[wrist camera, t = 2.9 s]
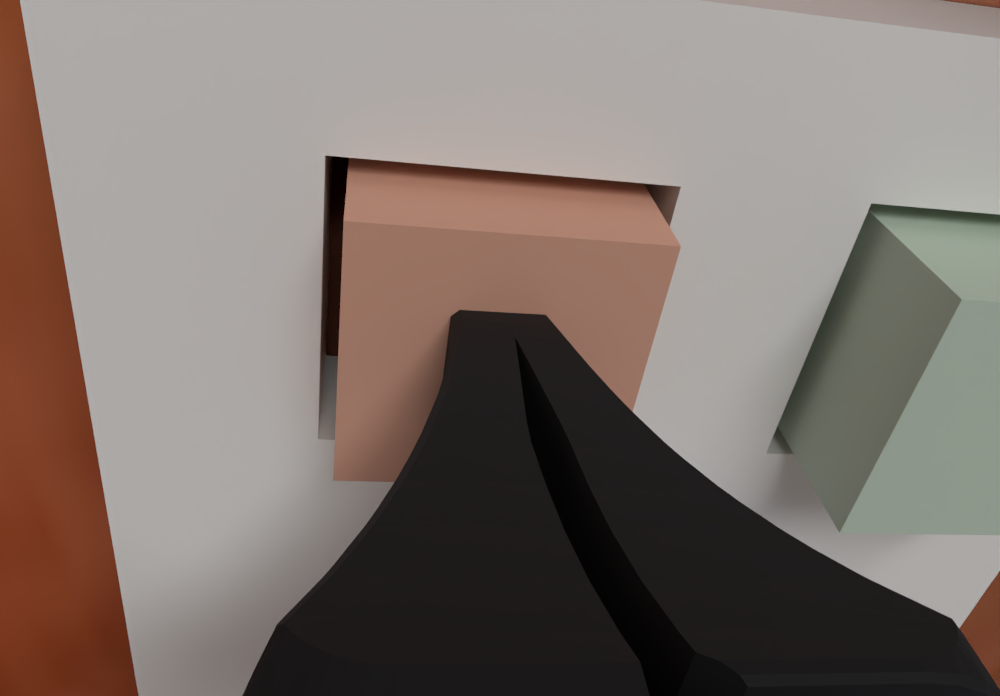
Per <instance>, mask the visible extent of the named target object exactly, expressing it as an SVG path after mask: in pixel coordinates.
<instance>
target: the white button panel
mask: <svg viewBox="0 0 1000 696" xmlns="http://www.w3.org/2000/svg"><path fill="white" fill-rule="evenodd" d="M20 4H21V10H22V15H23V21H24V27H25V33H26V39H27V45H28V51H29V56H30V62H31V68H32V74H33V80H34V86H35V92H36V97H37V103H38V109H39V115H40V121H41V127H42V133H43V139H44V144H45V150H46V156H47V162H48V168H49V174H50V180H51V185H52V191H53V197H54V203H55V209H56V215H57V221H58V226H59V232H60V238H61V244H62V250H63V256H64V262H65V268H66V273H67V279H68V285H69V291H70V297H71V303H72V309H73V314H74V320H75V326H76V332H77V338H78V344H79V350H80V355H81V361H82V367H83V373H84V379H85V385H86V391H87V397H88V402H89V408H90V414H91V420H92V426H93V432H94V438H95V443H96V449H97V455H98V461H99V467H100V473H101V479H102V484H103V490H104V496H105V502H106V508H107V514H108V520H109V525H110V531H111V537H112V543H113V549H114V555H115V561H116V567H117V572H118V578H119V584H120V590H121V596H122V602H123V608H124V613H125V619H126V625H127V631H128V637H129V643H130V649H131V654H132V660H133V666H134V672H135V678H136V684H137V690H138V696H243V693H244V691H245V689H246V687H247V685H248V682H249V680H250V678H251V676H252V674H253V672H254V669H255V667H256V665H257V663H258V661H259V659H260V657H261V655H262V653H263V651H264V649H265V647H266V645H267V643H268V641H269V639H270V637H271V635H272V633H273V631H274V630H275V627H276V625H277V624H278V623H279V622H280V621H281V620H282V619H283V617H284V616H285V615H286V614H287V613H288V612H289V611H290V610H291V609H292V608H293V607H294V606H295V605H296V604H297V603H298V602H299V601H300V600H301V599H302V598H303V597H304V596H305V595H306V594H307V593H308V592H309V591H310V590H311V589H312V588H313V587H314V586H315V585H316V584H317V583H318V582H319V581H320V580H321V579H322V577H323V576H324V575H325V574H326V573H327V572H328V571H329V570H330V568H331V567H332V566H333V565H334V564H335V562H336V561H337V560H338V559H339V557H340V556H341V555H342V554H343V552H344V551H345V550H346V549H347V547H348V546H349V545H350V544H351V543H352V541H353V540H354V539H355V538H356V536H357V535H358V534H359V533H360V531H361V530H362V529H363V528H364V526H365V525H366V524H367V522H368V521H369V520H370V518H371V517H372V515H373V514H374V512H375V511H376V510H377V508H378V507H379V505H380V504H381V502H382V501H383V499H384V498H385V496H386V494H387V493H388V491H389V490H390V488H391V487H392V485H393V484H394V482H369V481H333V474H334V449H335V424H336V398H337V373H338V356H328V355H326V341H327V307H328V273H329V240H330V206H331V172H332V156H336V157H348V158H359V159H371V160H382V161H393V162H405V163H416V164H428V165H439V166H450V167H462V168H473V169H485V170H496V171H508V172H519V173H530V174H542V175H553V176H565V177H576V178H587V179H599V180H610V181H622V182H633V183H644V185H645V187H646V188H647V190H648V192H649V193H650V195H651V197H652V198H653V200H654V202H655V203H656V205H657V207H658V208H659V210H660V212H661V213H662V215H663V217H664V219H665V220H666V222H667V224H668V225H669V227H670V229H671V230H672V232H673V234H674V235H675V237H676V239H677V240H678V242H679V244H680V245H681V248H680V252H679V255H678V259H677V262H676V265H675V269H674V272H673V276H672V279H671V282H670V286H669V289H668V293H667V296H666V299H665V303H664V306H663V310H662V313H661V317H660V320H659V323H658V327H657V330H656V334H655V337H654V340H653V344H652V347H651V351H650V354H649V357H648V361H647V364H646V368H645V371H644V375H643V378H642V381H641V385H640V388H639V392H638V395H637V398H636V402H635V405H634V409H633V413H634V414H635V415H636V416H637V417H638V418H639V419H640V420H642V421H643V422H644V423H645V424H646V425H647V426H648V427H649V428H650V429H651V430H652V431H653V432H654V433H655V434H656V435H657V436H659V437H660V438H661V439H662V440H663V441H664V442H665V443H666V444H667V445H668V446H669V447H671V448H672V449H673V450H674V451H675V452H676V453H678V454H679V455H680V456H681V457H682V458H683V459H685V460H686V461H687V462H689V463H690V464H691V465H692V466H694V467H695V468H696V469H697V470H699V471H700V472H701V473H702V474H704V475H705V476H706V477H707V478H709V479H710V480H711V481H712V482H714V483H715V484H716V485H717V486H719V487H720V488H721V489H723V490H724V491H726V492H727V493H728V494H730V495H731V496H733V497H734V498H735V499H737V500H738V501H739V502H741V503H742V504H744V505H745V506H747V507H748V508H750V509H751V510H753V511H754V512H756V513H757V514H759V515H760V516H762V517H763V518H765V519H766V520H768V521H769V522H771V523H772V524H774V525H775V526H777V527H778V528H780V529H782V530H783V531H785V532H786V533H788V534H790V535H791V536H793V537H795V538H796V539H798V540H800V541H801V542H803V543H805V544H806V545H808V546H810V547H811V548H813V549H815V550H817V551H818V552H820V553H822V554H824V555H826V556H827V557H829V558H831V559H833V560H835V561H836V562H838V563H840V564H842V565H844V566H845V567H847V568H849V569H851V570H853V571H854V572H856V573H858V574H860V575H862V576H864V577H866V578H868V579H870V580H872V581H874V582H876V583H878V584H880V585H882V586H884V587H886V588H889V589H891V590H893V591H895V592H897V593H899V594H901V595H903V596H905V597H907V598H910V599H912V600H914V601H916V602H918V603H920V604H922V605H924V606H926V607H929V608H931V609H933V610H935V611H937V612H939V613H941V614H943V615H945V616H947V617H950V618H952V619H953V621H954V622H955V623H956V625H957V626H958V628H960V627H961V625H962V624H963V622H964V621H965V619H966V618H967V617H968V615H969V614H970V612H971V611H972V609H973V608H974V607H975V605H976V604H977V602H978V601H979V599H980V598H981V597H982V595H983V594H984V592H985V591H986V589H987V588H988V587H989V585H990V584H991V582H992V581H993V580H994V578H995V577H996V575H997V574H998V572H999V571H1000V535H941V534H871V533H839V531H838V530H837V528H836V526H835V524H834V523H833V521H832V519H831V518H830V516H829V514H828V512H827V511H826V509H825V507H824V505H823V504H822V502H821V500H820V499H819V497H818V495H817V493H816V492H815V490H814V488H813V486H812V485H811V483H810V481H809V480H808V478H807V476H806V474H805V473H804V471H803V469H802V468H801V466H800V464H799V462H798V461H797V459H796V457H795V455H794V454H793V452H792V450H791V449H790V447H789V445H788V443H787V442H786V440H785V438H784V436H783V435H782V433H781V431H780V430H779V428H778V423H779V421H780V419H781V416H782V414H783V412H784V409H785V407H786V405H787V402H788V400H789V397H790V395H791V393H792V390H793V388H794V386H795V383H796V381H797V378H798V376H799V374H800V371H801V369H802V367H803V364H804V362H805V360H806V357H807V355H808V352H809V350H810V348H811V345H812V343H813V341H814V338H815V336H816V333H817V331H818V329H819V326H820V324H821V322H822V319H823V317H824V314H825V312H826V310H827V307H828V305H829V303H830V300H831V298H832V296H833V293H834V291H835V288H836V286H837V284H838V281H839V279H840V277H841V274H842V272H843V269H844V267H845V265H846V262H847V260H848V258H849V255H850V253H851V251H852V248H853V246H854V243H855V241H856V239H857V236H858V234H859V232H860V229H861V227H862V224H863V222H864V220H865V217H866V215H867V213H868V210H869V208H870V205H871V203H873V204H884V205H895V206H907V207H918V208H930V209H941V210H952V211H964V212H975V213H987V214H998V215H1000V8H994V7H986V6H979V5H972V4H964V3H957V2H949V1H942V0H20Z"/></svg>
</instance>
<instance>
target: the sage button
mask: <svg viewBox="0 0 1000 696" xmlns="http://www.w3.org/2000/svg"><path fill="white" fill-rule="evenodd" d="M778 428H779V430H780V431H781V433H782V435H783V436H784V438H785V440H786V442H787V443H788V445H789V447H790V449H791V450H792V452H793V454H794V455H795V457H796V459H797V461H798V462H799V464H800V466H801V468H802V469H803V471H804V473H805V474H806V476H807V478H808V480H809V481H810V483H811V485H812V486H813V488H814V490H815V492H816V493H817V495H818V497H819V499H820V500H821V502H822V504H823V505H824V507H825V509H826V511H827V512H828V514H829V516H830V518H831V519H832V521H833V523H834V524H835V526H836V528H837V530H838V531H839V533H871V534H941V535H1000V215H998V214H987V213H975V212H964V211H952V210H941V209H930V208H918V207H907V206H895V205H884V204H873V203H871V205H870V208H869V210H868V213H867V215H866V217H865V220H864V222H863V224H862V227H861V229H860V232H859V234H858V236H857V239H856V241H855V243H854V246H853V248H852V251H851V253H850V255H849V258H848V260H847V262H846V265H845V267H844V269H843V272H842V274H841V277H840V279H839V281H838V284H837V286H836V288H835V291H834V293H833V296H832V298H831V300H830V303H829V305H828V307H827V310H826V312H825V314H824V317H823V319H822V322H821V324H820V326H819V329H818V331H817V333H816V336H815V338H814V341H813V343H812V345H811V348H810V350H809V352H808V355H807V357H806V360H805V362H804V364H803V367H802V369H801V371H800V374H799V376H798V378H797V381H796V383H795V386H794V388H793V390H792V393H791V395H790V397H789V400H788V402H787V405H786V407H785V409H784V412H783V414H782V416H781V419H780V421H779V423H778Z"/></svg>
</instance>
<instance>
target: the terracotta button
mask: <svg viewBox="0 0 1000 696" xmlns="http://www.w3.org/2000/svg"><path fill="white" fill-rule="evenodd" d="M680 248H681V245H680V244H679V242H678V240H677V239H676V237H675V235H674V234H673V232H672V230H671V229H670V227H669V225H668V224H667V222H666V220H665V219H664V217H663V215H662V213H661V212H660V210H659V208H658V207H657V205H656V203H655V202H654V200H653V198H652V197H651V195H650V193H649V192H648V190H647V188H646V187H645V185H644V183H633V182H622V181H610V180H599V179H587V178H576V177H565V176H553V175H542V174H530V173H519V172H508V171H496V170H485V169H473V168H462V167H450V166H439V165H428V164H416V163H405V162H393V161H382V160H371V159H359V158H349V162H348V174H347V186H346V198H345V209H344V222H343V247H342V272H341V297H340V323H339V348H338V373H337V398H336V424H335V449H334V474H333V481H369V482H395V480H396V479H397V477H398V476H399V474H400V472H401V470H402V469H403V467H404V465H405V463H406V462H407V460H408V458H409V456H410V454H411V452H412V451H413V449H414V447H415V445H416V443H417V441H418V439H419V437H420V435H421V433H422V431H423V428H424V426H425V424H426V421H427V419H428V417H429V414H430V412H431V410H432V407H433V405H434V403H435V400H436V398H437V395H438V392H439V389H440V386H441V383H442V380H443V373H444V365H445V357H446V349H447V341H448V333H449V325H450V317H451V316H452V315H453V314H455V313H456V312H457V311H459V310H472V311H489V312H506V313H524V314H543V315H546V316H547V317H548V318H549V319H550V320H551V321H552V322H553V324H554V325H555V326H556V327H557V328H558V330H559V331H560V332H561V333H562V334H563V335H564V337H565V338H566V339H567V340H568V341H569V343H570V344H571V345H572V346H573V347H574V348H575V350H576V351H577V352H578V353H579V354H580V355H581V357H582V358H583V359H584V360H585V361H586V362H587V364H588V365H589V366H590V367H591V368H592V369H593V370H594V371H595V373H596V374H597V375H598V376H599V377H600V378H601V379H602V380H603V381H604V382H605V384H606V385H607V386H608V387H609V388H610V389H611V390H612V391H613V392H614V393H615V394H616V395H617V396H618V397H619V398H620V400H621V401H622V402H623V403H624V404H625V405H626V406H627V407H628V408H629V409H630V410H631V411H632V412H633V409H634V405H635V402H636V398H637V395H638V392H639V388H640V385H641V381H642V378H643V375H644V371H645V368H646V364H647V361H648V357H649V354H650V351H651V347H652V344H653V340H654V337H655V334H656V330H657V327H658V323H659V320H660V317H661V313H662V310H663V306H664V303H665V299H666V296H667V293H668V289H669V286H670V282H671V279H672V276H673V272H674V269H675V265H676V262H677V259H678V255H679V252H680Z"/></svg>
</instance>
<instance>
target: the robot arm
mask: <svg viewBox="0 0 1000 696" xmlns="http://www.w3.org/2000/svg"><path fill="white" fill-rule="evenodd" d="M243 696H1000V690H999V688H998V687H997V685H996V683H995V682H994V680H993V679H992V677H991V676H990V674H989V673H988V671H987V670H986V668H985V667H984V665H983V664H982V662H981V661H980V659H979V658H978V656H977V655H976V653H975V651H974V650H973V648H972V647H971V645H970V644H969V642H968V641H967V639H966V638H965V636H964V635H963V633H962V632H961V630H960V629H959V628H958V626H957V625H956V623H955V622H954V621H953V619H952V618H950V617H947V616H945V615H943V614H941V613H939V612H937V611H935V610H933V609H931V608H929V607H926V606H924V605H922V604H920V603H918V602H916V601H914V600H912V599H910V598H907V597H905V596H903V595H901V594H899V593H897V592H895V591H893V590H891V589H889V588H886V587H884V586H882V585H880V584H878V583H876V582H874V581H872V580H870V579H868V578H866V577H864V576H862V575H860V574H858V573H856V572H854V571H853V570H851V569H849V568H847V567H845V566H844V565H842V564H840V563H838V562H836V561H835V560H833V559H831V558H829V557H827V556H826V555H824V554H822V553H820V552H818V551H817V550H815V549H813V548H811V547H810V546H808V545H806V544H805V543H803V542H801V541H800V540H798V539H796V538H795V537H793V536H791V535H790V534H788V533H786V532H785V531H783V530H782V529H780V528H778V527H777V526H775V525H774V524H772V523H771V522H769V521H768V520H766V519H765V518H763V517H762V516H760V515H759V514H757V513H756V512H754V511H753V510H751V509H750V508H748V507H747V506H745V505H744V504H742V503H741V502H739V501H738V500H737V499H735V498H734V497H733V496H731V495H730V494H728V493H727V492H726V491H724V490H723V489H721V488H720V487H719V486H717V485H716V484H715V483H714V482H712V481H711V480H710V479H709V478H707V477H706V476H705V475H704V474H702V473H701V472H700V471H699V470H697V469H696V468H695V467H694V466H692V465H691V464H690V463H689V462H687V461H686V460H685V459H683V458H682V457H681V456H680V455H679V454H678V453H676V452H675V451H674V450H673V449H672V448H671V447H669V446H668V445H667V444H666V443H665V442H664V441H663V440H662V439H661V438H660V437H659V436H657V435H656V434H655V433H654V432H653V431H652V430H651V429H650V428H649V427H648V426H647V425H646V424H645V423H644V422H643V421H642V420H640V419H639V418H638V417H637V416H636V415H635V414H634V413H633V412H632V411H631V410H630V409H629V408H628V407H627V406H626V405H625V404H624V403H623V402H622V401H621V400H620V398H619V397H618V396H617V395H616V394H615V393H614V392H613V391H612V390H611V389H610V388H609V387H608V386H607V385H606V384H605V382H604V381H603V380H602V379H601V378H600V377H599V376H598V375H597V374H596V373H595V371H594V370H593V369H592V368H591V367H590V366H589V365H588V364H587V362H586V361H585V360H584V359H583V358H582V357H581V355H580V354H579V353H578V352H577V351H576V350H575V348H574V347H573V346H572V345H571V344H570V343H569V341H568V340H567V339H566V338H565V337H564V335H563V334H562V333H561V332H560V331H559V330H558V328H557V327H556V326H555V325H554V324H553V322H552V321H551V320H550V319H549V318H548V317H547V316H546V315H543V314H524V313H506V312H489V311H472V310H459V311H457V312H456V313H455V314H453V315H452V316H451V317H450V325H449V333H448V341H447V349H446V357H445V365H444V373H443V380H442V383H441V386H440V389H439V392H438V395H437V398H436V400H435V403H434V405H433V407H432V410H431V412H430V414H429V417H428V419H427V421H426V424H425V426H424V428H423V431H422V433H421V435H420V437H419V439H418V441H417V443H416V445H415V447H414V449H413V451H412V452H411V454H410V456H409V458H408V460H407V462H406V463H405V465H404V467H403V469H402V470H401V472H400V474H399V476H398V477H397V479H396V480H395V482H394V484H393V485H392V487H391V488H390V490H389V491H388V493H387V494H386V496H385V498H384V499H383V501H382V502H381V504H380V505H379V507H378V508H377V510H376V511H375V512H374V514H373V515H372V517H371V518H370V520H369V521H368V522H367V524H366V525H365V526H364V528H363V529H362V530H361V531H360V533H359V534H358V535H357V536H356V538H355V539H354V540H353V541H352V543H351V544H350V545H349V546H348V547H347V549H346V550H345V551H344V552H343V554H342V555H341V556H340V557H339V559H338V560H337V561H336V562H335V564H334V565H333V566H332V567H331V568H330V570H329V571H328V572H327V573H326V574H325V575H324V576H323V577H322V579H321V580H320V581H319V582H318V583H317V584H316V585H315V586H314V587H313V588H312V589H311V590H310V591H309V592H308V593H307V594H306V595H305V596H304V597H303V598H302V599H301V600H300V601H299V602H298V603H297V604H296V605H295V606H294V607H293V608H292V609H291V610H290V611H289V612H288V613H287V614H286V615H285V616H284V617H283V619H282V620H281V621H280V622H279V623H278V624H277V625H276V627H275V630H274V631H273V633H272V635H271V637H270V639H269V641H268V643H267V645H266V647H265V649H264V651H263V653H262V655H261V657H260V659H259V661H258V663H257V665H256V667H255V669H254V672H253V674H252V676H251V678H250V680H249V682H248V685H247V687H246V689H245V691H244V693H243Z"/></svg>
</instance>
